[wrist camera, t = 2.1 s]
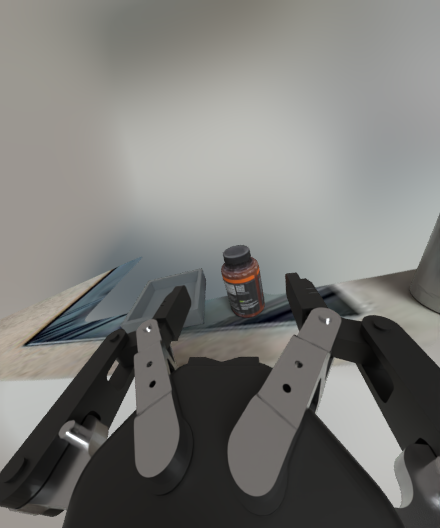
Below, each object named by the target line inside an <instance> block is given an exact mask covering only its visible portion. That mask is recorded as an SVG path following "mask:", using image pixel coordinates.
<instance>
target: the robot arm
mask: <svg viewBox="0 0 440 528" xmlns="http://www.w3.org/2000/svg"><path fill="white" fill-rule="evenodd" d="M285 279H286V294H287V299H288V301H289V304H290V307H291V310H292V312H293V315H294V318H295V321H296V323H297V326H298V329H299V334H298V335H297V336H296V335H293V336H292V338H291V339H290V341H289V343H288V344H287V346H286V348H285V349H284V351H283V353H282V354H281V356H280V358H279V359H278V361H277V363H276V364H275V366H274V368H271V367H269V366H267V365H265V364H262V363H259V357H238V358H234V359H231V360H227V361H224V362H220V361H217V360H213V359H210V358H206V357H190V358H189V361H188V364H185V365H183V366H181V367H179V368H178V366H177V363H176V360H175V357H174V354H173V351H172V348H171V345H170V343H171V341H178V338H179V336H180V333H181V331H182V328H183V325H184V323H185V320H186V318H187V315H188V313H189V310H190V308H191V298H190V296H189V293H188V291H187V288H186V286H185V285H182V286H175V288H174V289H173V291H172V292H171V293H169V294H168V295H167V296H166V297H165V299H164V300H163V302H162V303H161V305H160V306H159V308H158V310H157V311H156V313H155V314H154V316H153V318H152V319H150V320H147V321H145V322H144V323H142V324H141V325H140V326H139V327H138V329H137V330H136V331H133V332H130V333H126V331H125V330H124V329H119V330H116V331H114V332H112V333H111V334H110V335H108V336H107V337H106V339H105V340H104V341H103V342H102V344H101V345H100V346H99V348H98V349H97V350H96V351H95V353H94V354H93V355H92V356H91V358H90V359H89V360H88V362H87V363H86V364H85V365H84V367H83V368H82V369H81V370H80V372H79V373H78V374H77V376H76V377H75V378H74V379H73V381H72V382H71V383H70V384H69V386H68V387H67V388H66V390H65V391H64V392H63V394H62V395H61V396H60V397H59V398H58V400H57V401H56V402H55V404H54V405H53V406H52V407H51V409H50V410H49V412H48V413H47V414H46V415H45V416H44V418H43V419H42V420H41V421H40V423H39V424H38V425H37V426H36V428H35V429H34V430H33V432H32V433H31V434H30V435H29V437H28V438H27V439H26V440H25V442H24V443H23V444H22V446H21V447H20V448H19V450H18V451H17V452H16V453H15V454H14V456H13V457H12V458H11V460H10V461H9V462H8V464H7V465H6V466H5V467H4V469H3V470H2V471H1V473H0V506H1V507H6V508H8V509H9V510H10V511H14V512H19V513H25V514H30V515H39V514H40V515H45V516H50V517H54V516H57V515H58V514H60V513H61V512H63V511H64V510H67V512H66V516H65V520H64V524H63V527H62V528H440V368H439V367H438V366H437V364H435V362H434V361H433V360H432V359H431V358H430V357H429V356H428V355H427V354H426V353H425V352H424V351H423V350H422V349H421V348H420V347H419V345H418V344H417V343H416V342H415V341H414V340H413V339H412V338H411V337H410V336H409V335H408V334H407V333H406V332H405V331H404V330H403V329H402V328H401V327H400V326H399V325H398V324H397V323H396V322H394V321H392V320H390V319H388V318H385V317H382V316H376V315H370V316H366V317H364V318H363V320H362V321H356V320H350V319H345V318H342V317H340V316H339V315H338V314H337V313H336V312H335V311H333V310H331V309H329V308H328V307H327V305H326V304H325V302H324V301H323V299H322V297H321V296H320V294H319V293H318V291H317V290H316V289H315V287H314V285H313V284H312V282H310V281H309V280H307V279H306V278H305V279H300V277H299V276H298V274H297V273H288V274H286V275H285ZM410 292H411V294H412V295H413V297H414V298H415V299H417V300H418V301H419V302H420V303H422V304H423V305H425V306H426V307H428V308H430V309H432V310H434V311H436V312H438V313H440V214H439V217H438V219H437V222H436V224H435V226H434V229H433V231H432V234H431V236H430V239H429V242H428V244H427V246H426V249H425V251H424V254H423V256H422V259H421V261H420V264H419V266H418V268H417V271H416V273H415V276H414V278H413V281H412V283H411V286H410ZM334 358H339V359H343V360H346V361H350V362H354V363H356V365H357V367H358V369H359V371H360V372H361V374H362V376H363V378H364V380H365V382H366V384H367V385H368V387H369V389H370V391H371V393H372V395H373V397H374V399H375V400H376V402H377V404H378V406H379V408H380V410H381V412H382V414H383V416H384V418H385V419H386V421H387V423H388V425H389V427H390V428H391V431H392V432H393V434H394V436H395V438H396V440H397V442H398V444H399V446H400V447H401V449H402V451H403V452H402V453H401V454H400V455H399V456H398V457H397V458H396V460H395V463H394V471H395V475H396V478H397V481H398V484H399V486H400V490H401V497H402V501H401V506H400V508H394V507H393V505H392V504H391V502H390V501H389V499H388V498H387V496H386V495H385V494H384V493H383V491H382V490H381V488H380V487H379V486H378V485H377V483H376V482H375V481H374V480H373V479H372V477H371V476H370V475H369V474H368V473H367V472H366V471H365V470H364V469H363V467H362V466H361V465H360V464H359V463H358V462H357V460H355V458H354V457H353V456H352V455H351V454H350V453H349V451H348V450H347V449H346V448H345V447H344V446H343V445H342V444H341V442H340V441H339V440H338V439H337V438H336V437H335V436H334V434H333V433H332V432H331V431H330V430H329V429H328V428H327V426H326V425H325V424H324V423H323V422H322V421H321V420H320V418H319V417H318V416H317V415H316V413H317V410H318V407H319V404H320V401H321V398H322V394H323V390H324V387H325V383H326V381H327V378H328V375H329V372H330V369H331V366H332V363H333V361H334ZM115 360H117V361H118V363H119V364H118V366H117V368H116V369H115V371H114V373H113V374H112V376H111V378H110V380H109V381H108V380H107V374H108V371H109V370H110V368H111V367H112V365H113V363H114V362H115ZM134 377H135V388H136V406H137V409H136V410H135V411H134V412H133V413H132V414H131V415H130V416H129V417H128V419H126V420H125V421H124V423H123V424H122V425H121V426H120V427H119V428H118V429H117V430H116V431H115V432H114V433H113V434H112V435H111V436H110V437H109V438H108V439H107V437H108V430H109V428H110V426H111V424H112V422H113V420H114V417H115V416H116V414H117V411H118V409H119V407H120V405H121V403H122V401H123V399H124V397H125V395H126V393H127V391H128V389H129V387H130V385H131V383H132V380H133V379H134Z"/></svg>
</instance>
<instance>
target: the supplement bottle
mask: <svg viewBox="0 0 440 528" xmlns="http://www.w3.org/2000/svg"><path fill="white" fill-rule="evenodd" d="M223 256H224V261H225V263H224V264H223V266H222V269H221V272H222V276H223V280H224V283H225V286H226V290H227V294H228V297H229V301H230V304H231V307H232V310H233V312H234V313H235V314H236V315H238V316H240V317H244V318H249V317H254V316H256V315H258V314H259V313H260V312H261V311H262V310H263V309H264V304H265V303H264V295H263V289H262V283H261V276H260V271H259V265H258V262H257V260H256V259H254V258H252V257H250V256H251V255H250V250H249V248H248V247H247V246H244V245H237V246H233V247H230V248H228V249H226V250H225V251H224V252H223Z"/></svg>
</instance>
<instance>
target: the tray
mask: <svg viewBox="0 0 440 528" xmlns="http://www.w3.org/2000/svg"><path fill="white" fill-rule="evenodd" d="M182 285H185V286H186V288H187V291H188V293H189V296H190V298H191V308H190V310H189V313H188V315H187V318H186V320H185V323H184V325H183V328H185V327H189V326H194V325H199V324H204V309H205V290H206V279H205V276H204V273H203V270H202V268H201V269H197V270H193V271H189V272H185V273H180V274H176V275H172V276H167V277H163V278H159V279H154V280H150V281H148V283H147V284H146V286H145V287H144V289H143V291H142V292H141V294H140V296H139V297H138V299H137V300H136V302H135V303H134V305H133V307H132V308H131V310H130V312H129V313H128V315H127V316H126V318H125V319H124V321H123V323H122V324H121V327H122V328H123V329H124V330H125V331H126V333H130V332H133V331H136V330H137V329H138V327H139V326H140V325H141V324H142V323H144V322H145V321H147V320H150V319H152V318H153V316H154V314H155V313H156V311H157V310H158V308H159V306H160V305H161V303H162V302H163V300H164V299H165V297H166V296H167V295H168V294H169V293H171V292H172V291H173V289H174V288H175V286H182Z"/></svg>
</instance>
